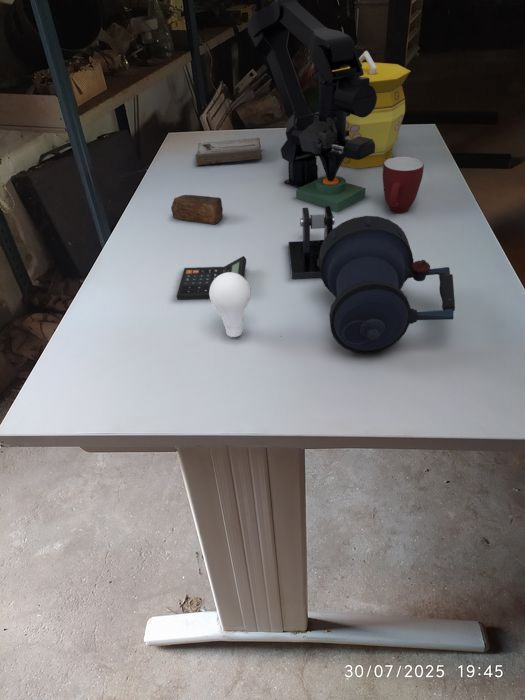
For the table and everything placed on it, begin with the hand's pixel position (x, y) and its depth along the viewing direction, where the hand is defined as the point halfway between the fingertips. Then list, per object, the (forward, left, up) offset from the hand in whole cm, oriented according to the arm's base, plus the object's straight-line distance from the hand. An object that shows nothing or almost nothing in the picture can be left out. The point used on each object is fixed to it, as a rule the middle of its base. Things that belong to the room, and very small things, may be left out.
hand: (330, 180), depth 120 cm
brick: (-16, -26, -4) cm, 31 cm away
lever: (+14, -22, +1) cm, 26 cm away
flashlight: (+37, -33, -4) cm, 50 cm away
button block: (0, 0, -4) cm, 4 cm away
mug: (+16, +3, -4) cm, 17 cm away
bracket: (+16, -24, -4) cm, 29 cm away
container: (-10, +25, -4) cm, 27 cm away
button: (0, 0, -2) cm, 2 cm away
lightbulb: (+21, -50, -4) cm, 54 cm away
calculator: (+7, -42, -4) cm, 43 cm away
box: (-38, +4, -4) cm, 38 cm away
